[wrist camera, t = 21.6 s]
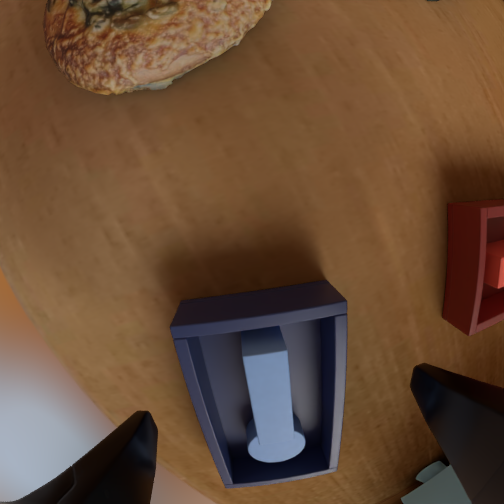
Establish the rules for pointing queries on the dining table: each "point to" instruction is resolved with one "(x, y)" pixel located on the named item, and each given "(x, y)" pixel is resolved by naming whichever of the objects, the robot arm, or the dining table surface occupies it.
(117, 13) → the bread roll
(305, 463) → the blue tray
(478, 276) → the red tray
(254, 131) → the dining table surface
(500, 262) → the red spoon
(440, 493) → the teapot
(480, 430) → the robot arm
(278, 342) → the blue spoon
